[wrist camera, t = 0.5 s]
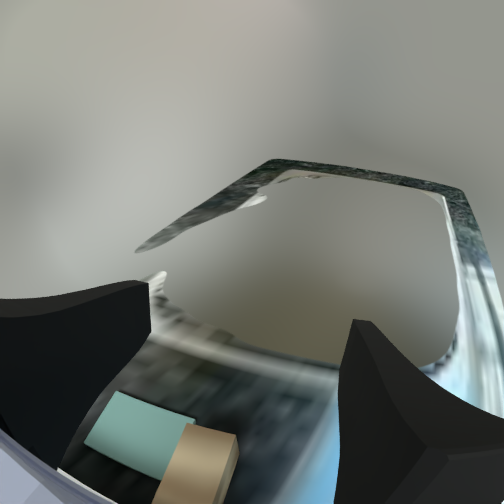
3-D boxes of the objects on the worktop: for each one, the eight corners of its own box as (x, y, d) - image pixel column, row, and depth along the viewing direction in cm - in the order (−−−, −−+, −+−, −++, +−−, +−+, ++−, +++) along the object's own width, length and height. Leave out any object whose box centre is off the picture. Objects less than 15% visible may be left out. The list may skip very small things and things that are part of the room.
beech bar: (199, 570, 13) (186, 571, 11) (151, 553, 14) (130, 549, 12) (239, 454, 23) (235, 434, 21) (196, 443, 24) (186, 422, 22)
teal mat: (167, 483, 20) (165, 482, 20) (86, 445, 22) (83, 442, 22) (196, 421, 26) (194, 419, 26) (118, 394, 28) (116, 390, 28)
